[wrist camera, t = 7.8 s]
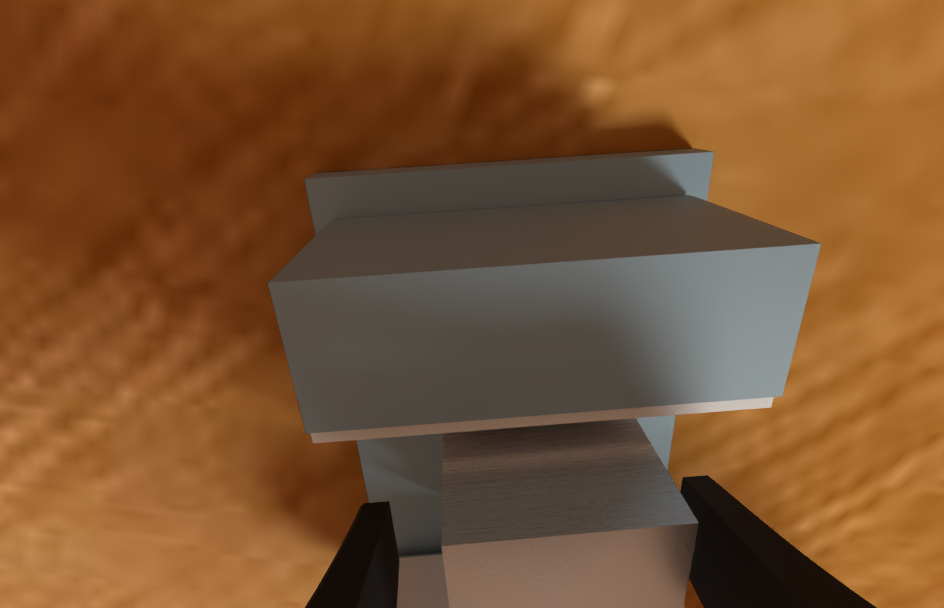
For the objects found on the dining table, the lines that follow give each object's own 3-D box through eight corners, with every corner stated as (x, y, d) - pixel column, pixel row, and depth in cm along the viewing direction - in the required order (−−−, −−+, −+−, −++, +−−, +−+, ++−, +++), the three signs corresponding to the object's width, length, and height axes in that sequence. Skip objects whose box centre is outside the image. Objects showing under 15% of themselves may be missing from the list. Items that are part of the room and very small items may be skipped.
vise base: (632, 626, 20) (693, 799, 15) (404, 646, 20) (390, 828, 15) (694, 148, 12) (868, 178, 7) (315, 173, 12) (218, 223, 7)
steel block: (578, 490, 15) (660, 732, 10) (460, 500, 15) (468, 751, 9) (584, 332, 13) (698, 523, 7) (444, 343, 13) (441, 546, 7)
